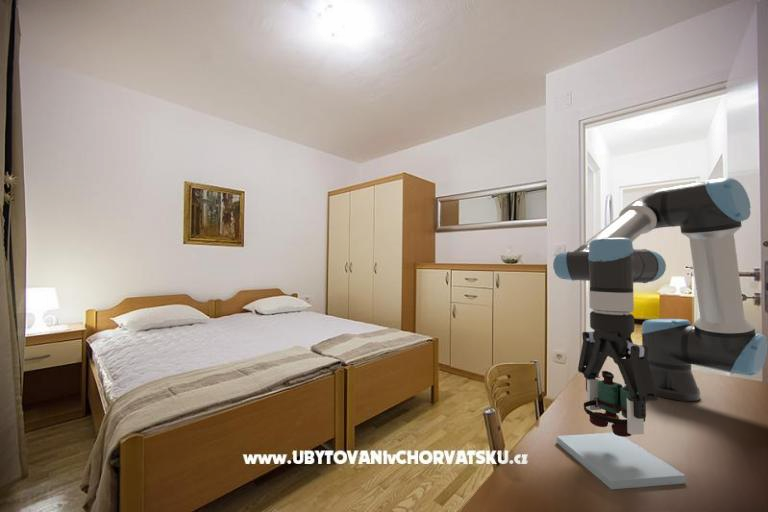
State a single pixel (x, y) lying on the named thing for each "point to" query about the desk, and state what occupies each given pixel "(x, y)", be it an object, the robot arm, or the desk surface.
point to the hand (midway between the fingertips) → (613, 420)
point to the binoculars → (610, 405)
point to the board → (619, 461)
